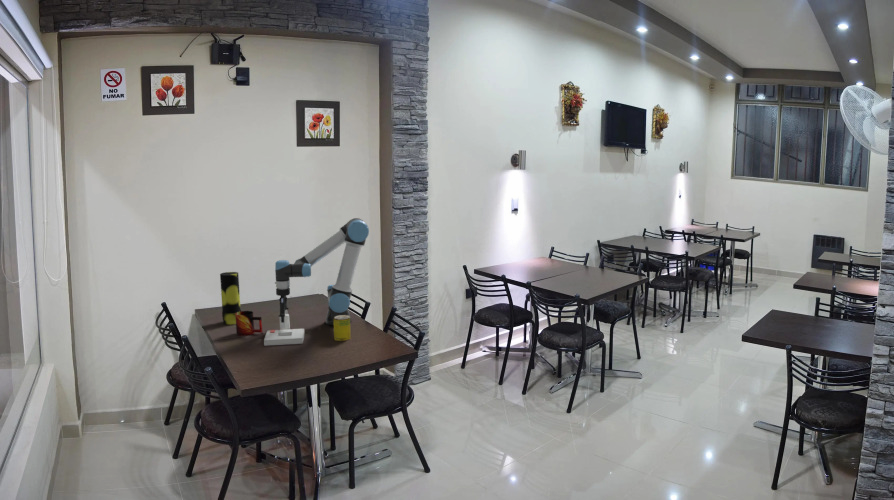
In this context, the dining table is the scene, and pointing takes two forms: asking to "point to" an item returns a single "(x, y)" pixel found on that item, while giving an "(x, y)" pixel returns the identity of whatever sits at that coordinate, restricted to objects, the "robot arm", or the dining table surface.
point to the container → (230, 296)
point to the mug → (246, 323)
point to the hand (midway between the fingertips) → (284, 324)
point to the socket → (284, 337)
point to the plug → (286, 322)
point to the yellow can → (342, 328)
